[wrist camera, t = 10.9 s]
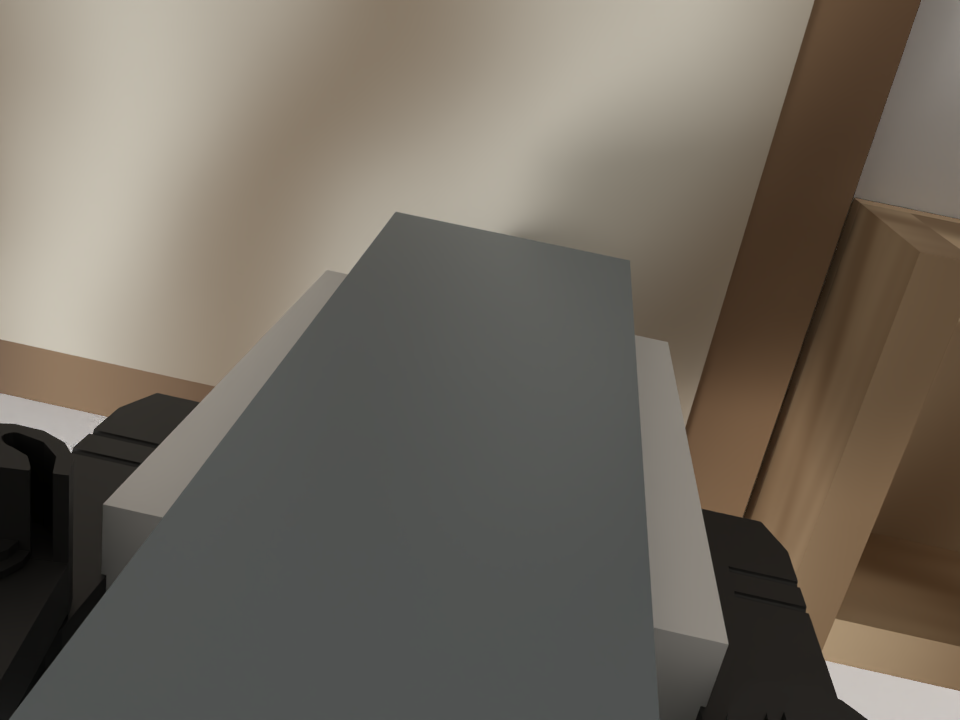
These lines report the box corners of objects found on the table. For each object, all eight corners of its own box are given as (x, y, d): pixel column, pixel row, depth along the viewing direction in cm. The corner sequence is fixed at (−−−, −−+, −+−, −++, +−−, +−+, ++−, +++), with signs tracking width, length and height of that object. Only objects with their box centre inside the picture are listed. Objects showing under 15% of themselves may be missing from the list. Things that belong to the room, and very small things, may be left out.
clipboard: (-109, 352, 19) (-163, 379, 17) (-178, -542, 13) (-264, -600, 12) (725, 537, 18) (735, 580, 17) (1019, -327, 12) (1068, -364, 11)
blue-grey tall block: (384, 377, 16) (-354, 1842, 4) (412, 182, 15) (-686, 1587, 2) (582, 420, 16) (490, 2095, 4) (632, 227, 15) (766, 1987, 2)
